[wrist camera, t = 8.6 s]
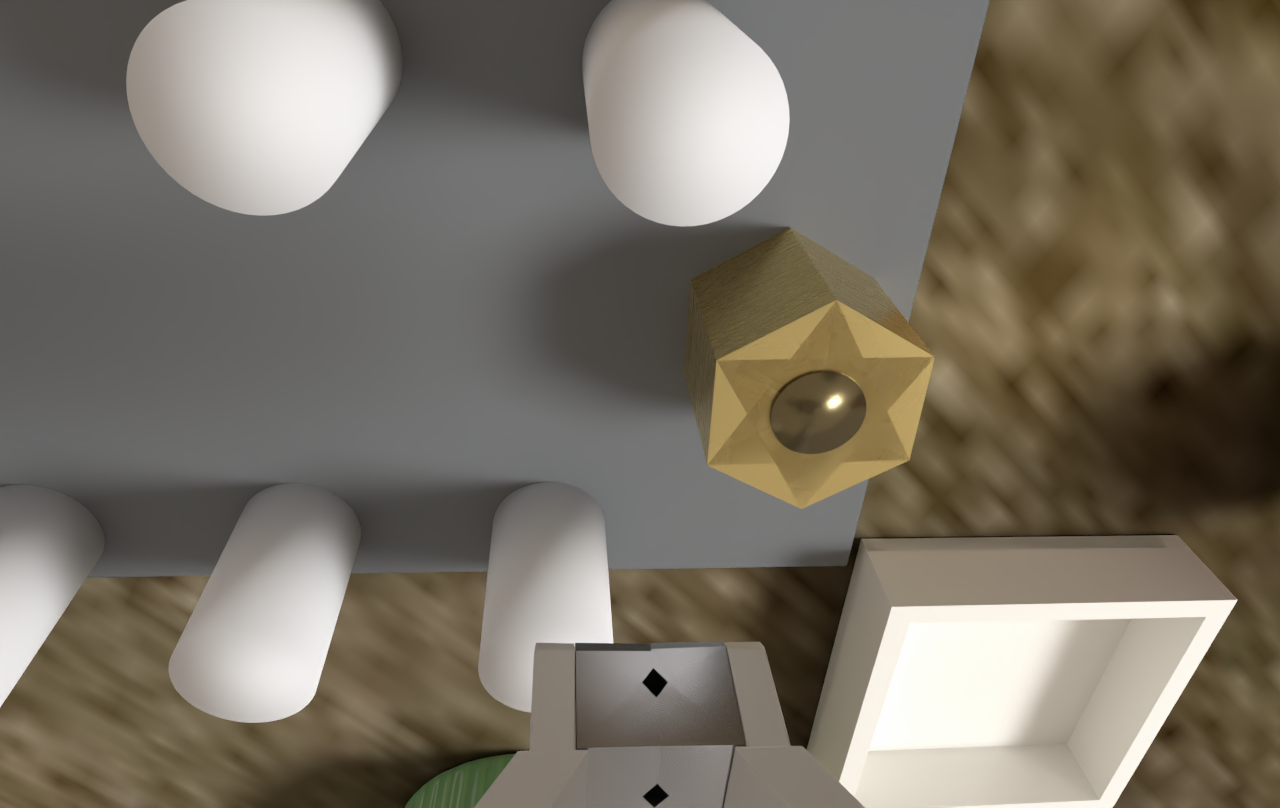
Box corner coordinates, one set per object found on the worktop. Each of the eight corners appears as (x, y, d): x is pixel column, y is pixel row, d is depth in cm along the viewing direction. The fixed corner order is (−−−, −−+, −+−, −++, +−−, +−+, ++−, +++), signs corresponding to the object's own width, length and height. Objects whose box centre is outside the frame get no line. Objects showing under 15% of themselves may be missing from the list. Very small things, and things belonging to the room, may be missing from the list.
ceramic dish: (1070, 741, 29) (1110, 810, 27) (805, 751, 28) (826, 824, 26) (1177, 534, 24) (1237, 599, 22) (861, 539, 23) (892, 607, 21)
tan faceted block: (848, 412, 20) (899, 508, 17) (681, 416, 20) (704, 514, 17) (883, 226, 18) (950, 300, 15) (693, 227, 17) (722, 302, 14)
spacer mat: (842, 555, 23) (904, 704, 19) (-150, 569, 21) (-327, 744, 16) (1031, -208, 14) (1227, -240, 10) (-697, -348, 12) (-1389, -467, 7)
